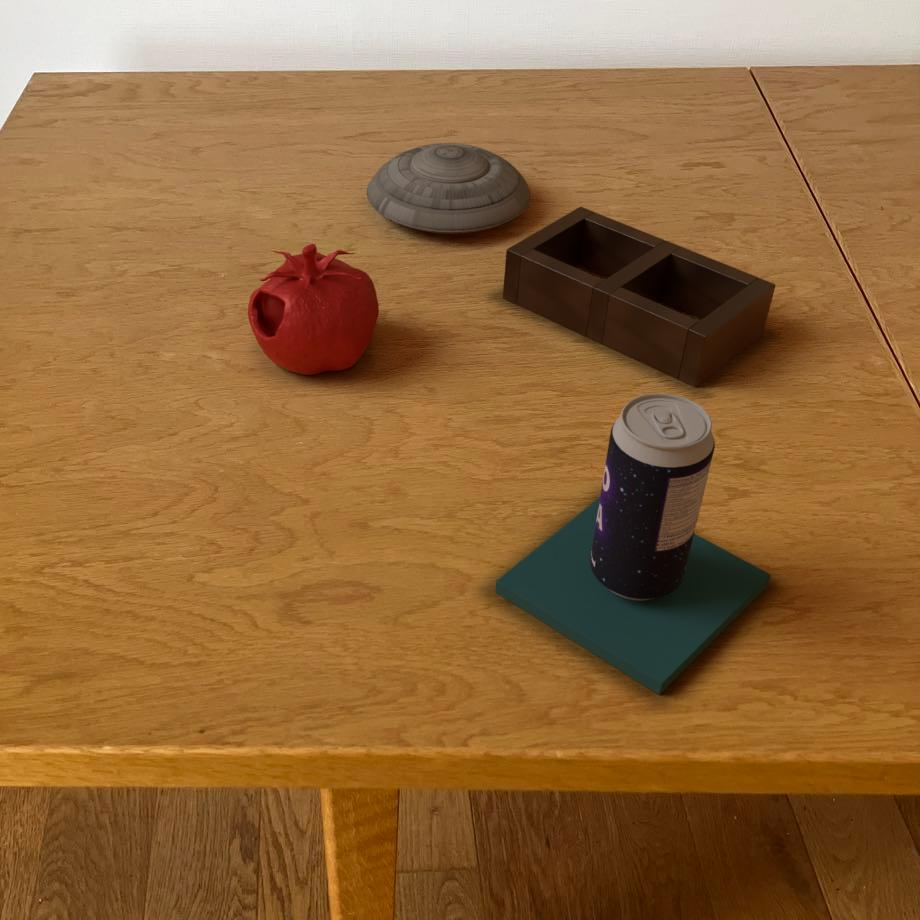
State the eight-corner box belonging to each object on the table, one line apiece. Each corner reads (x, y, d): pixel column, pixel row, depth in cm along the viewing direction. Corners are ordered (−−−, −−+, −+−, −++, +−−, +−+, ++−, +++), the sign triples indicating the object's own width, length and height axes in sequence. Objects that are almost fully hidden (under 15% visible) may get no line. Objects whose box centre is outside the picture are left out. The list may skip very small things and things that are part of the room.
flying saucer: (338, 192, 113) (336, 136, 109) (472, 157, 118) (475, 103, 114) (420, 262, 103) (421, 203, 99) (561, 221, 109) (568, 164, 105)
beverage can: (663, 540, 76) (697, 384, 68) (695, 603, 72) (735, 445, 63) (576, 550, 75) (600, 394, 67) (604, 615, 71) (633, 457, 63)
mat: (768, 586, 74) (771, 574, 73) (659, 695, 68) (662, 683, 67) (608, 499, 80) (610, 488, 79) (494, 592, 74) (495, 580, 73)
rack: (763, 334, 95) (776, 284, 92) (695, 387, 90) (706, 336, 87) (574, 253, 104) (580, 206, 101) (502, 298, 99) (506, 249, 96)
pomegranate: (382, 318, 97) (382, 211, 90) (374, 390, 89) (373, 280, 83) (261, 313, 97) (252, 208, 91) (242, 385, 90) (232, 275, 84)
